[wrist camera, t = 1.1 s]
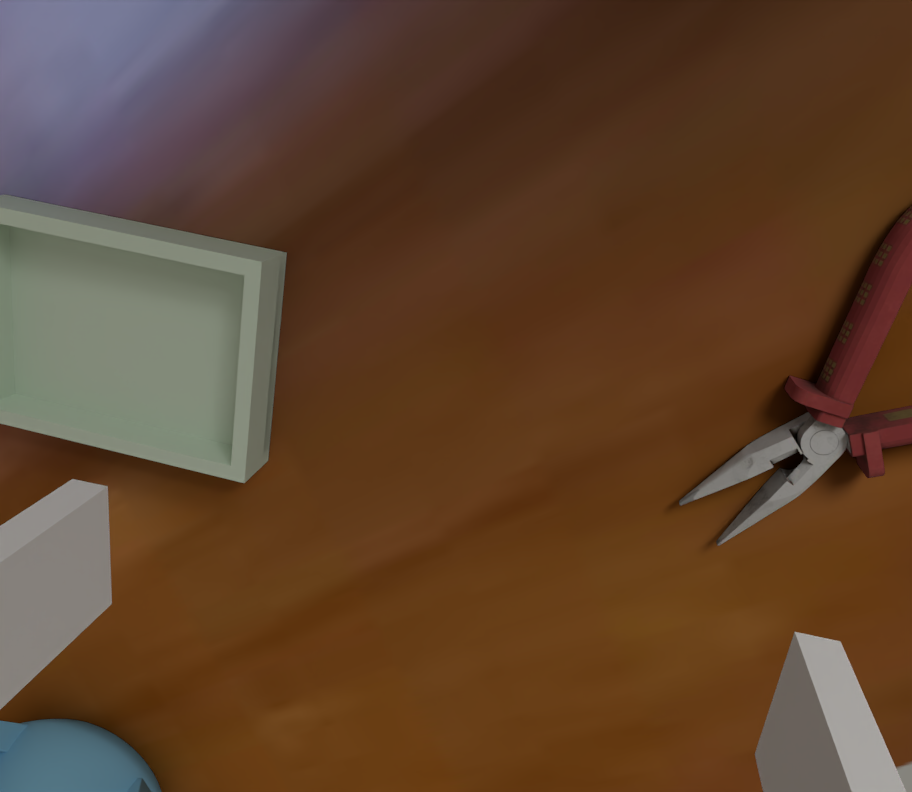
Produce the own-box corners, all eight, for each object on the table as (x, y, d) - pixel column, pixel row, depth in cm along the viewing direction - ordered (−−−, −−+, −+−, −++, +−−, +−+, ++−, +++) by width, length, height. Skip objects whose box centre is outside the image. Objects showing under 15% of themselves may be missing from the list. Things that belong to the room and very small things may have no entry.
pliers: (619, 434, 40) (619, 455, 37) (988, 132, 32) (1019, 133, 30) (770, 588, 41) (780, 617, 38) (1158, 329, 34) (1201, 345, 31)
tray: (6, 194, 41) (-39, 199, 38) (286, 252, 39) (261, 261, 36) (12, 399, 45) (-27, 416, 42) (268, 460, 43) (244, 483, 40)
